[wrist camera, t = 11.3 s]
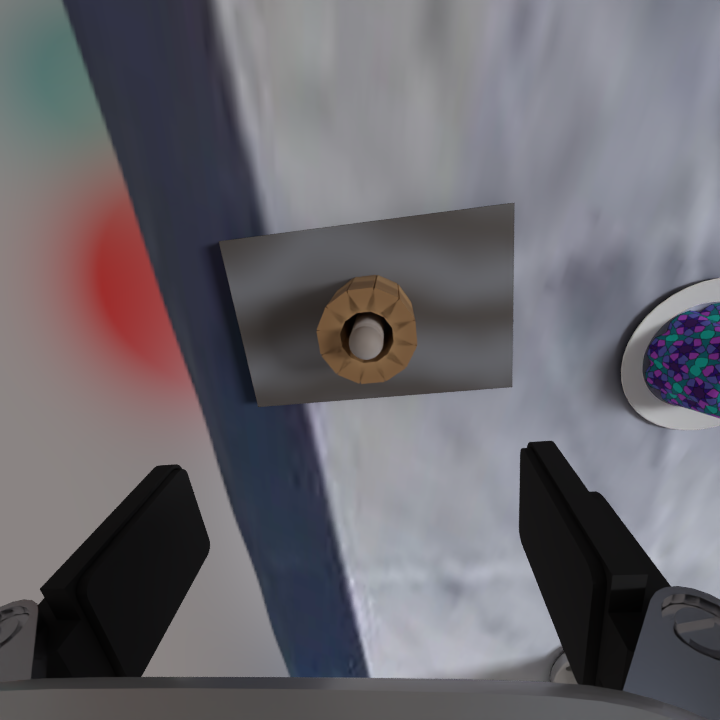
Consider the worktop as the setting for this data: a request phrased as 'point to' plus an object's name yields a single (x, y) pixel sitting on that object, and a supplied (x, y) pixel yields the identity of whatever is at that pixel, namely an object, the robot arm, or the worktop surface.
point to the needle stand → (418, 281)
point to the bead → (396, 342)
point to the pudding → (678, 361)
